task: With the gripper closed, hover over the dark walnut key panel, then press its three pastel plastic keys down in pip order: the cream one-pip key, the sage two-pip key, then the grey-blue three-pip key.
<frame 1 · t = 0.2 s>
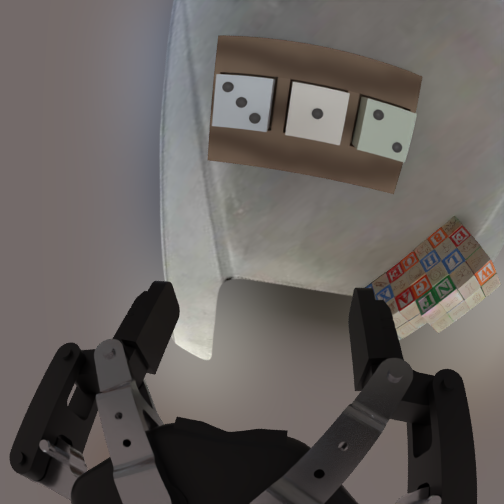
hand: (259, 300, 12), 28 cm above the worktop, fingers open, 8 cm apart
key panel: (313, 108, 31), on the worktop
key 2: (384, 128, 27), point 4 cm above the worktop, slide at 0.0 cm
key 1: (316, 112, 28), point 4 cm above the worktop, slide at 0.0 cm
stack of blocks: (414, 265, 42), on the worktop
key 3: (243, 101, 28), point 4 cm above the worktop, slide at 0.0 cm
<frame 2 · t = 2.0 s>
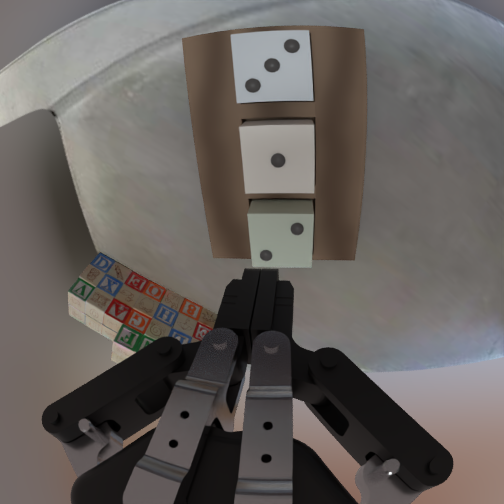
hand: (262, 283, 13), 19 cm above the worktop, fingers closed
key panel: (281, 144, 27), on the worktop
key 2: (282, 234, 28), point 4 cm above the worktop, slide at 0.0 cm
key 1: (279, 155, 24), point 4 cm above the worktop, slide at 0.0 cm
stack of blocks: (154, 294, 43), on the worktop
key 3: (273, 66, 19), point 4 cm above the worktop, slide at 0.0 cm
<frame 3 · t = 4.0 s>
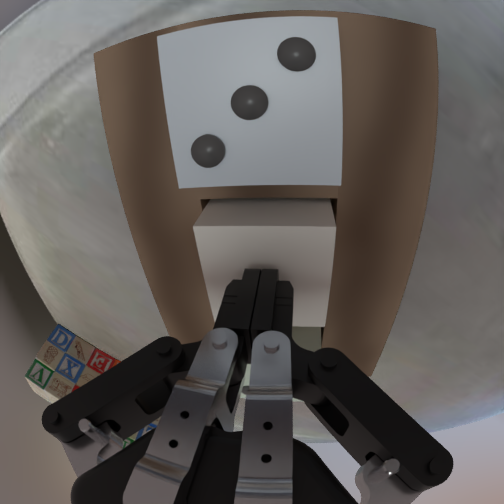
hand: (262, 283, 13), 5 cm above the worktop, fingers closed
key panel: (274, 227, 18), on the worktop
key 2: (272, 362, 18), point 4 cm above the worktop, slide at 0.0 cm
key 1: (269, 263, 15), point 4 cm above the worktop, slide at 0.6 cm, touching gripper
stack of blocks: (124, 370, 33), on the worktop
key 3: (256, 99, 10), point 4 cm above the worktop, slide at 0.0 cm
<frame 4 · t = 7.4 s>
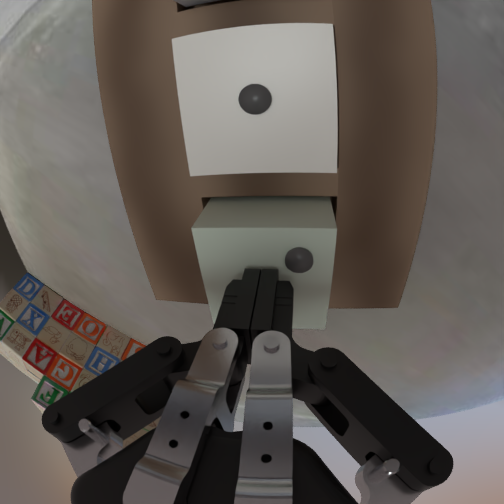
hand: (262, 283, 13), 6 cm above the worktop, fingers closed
key panel: (267, 93, 13), on the worktop
key 2: (269, 265, 14), point 4 cm above the worktop, slide at 0.2 cm, touching gripper
key 1: (260, 96, 11), point 3 cm above the worktop, slide at 1.2 cm
stack of blocks: (96, 329, 29), on the worktop
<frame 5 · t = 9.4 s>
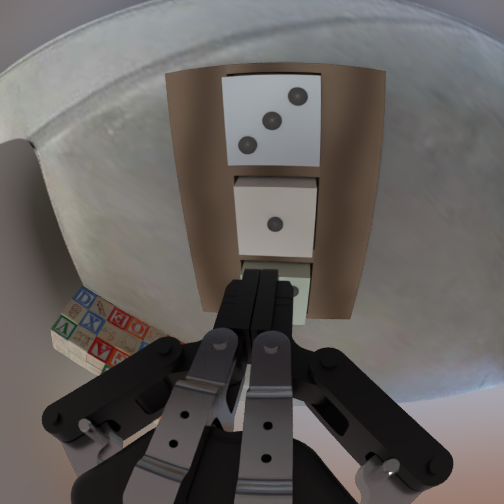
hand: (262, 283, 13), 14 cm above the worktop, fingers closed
key panel: (278, 199, 26), on the worktop
key 2: (276, 291, 27), point 3 cm above the worktop, slide at 1.0 cm
key 1: (276, 214, 23), point 3 cm above the worktop, slide at 1.2 cm
stack of blocks: (137, 328, 41), on the worktop
key 3: (273, 117, 18), point 4 cm above the worktop, slide at 0.0 cm
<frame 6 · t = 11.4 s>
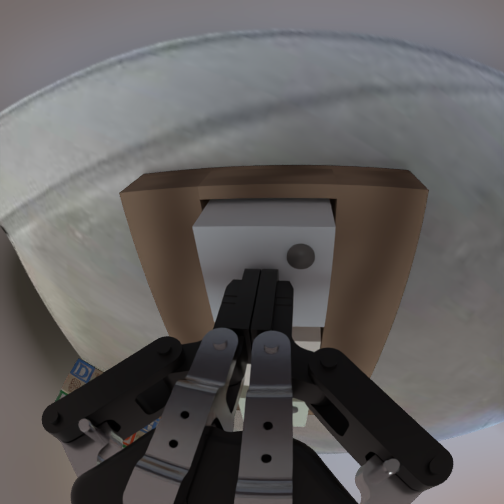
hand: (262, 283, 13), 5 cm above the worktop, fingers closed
key panel: (277, 317, 22), on the worktop
key 2: (275, 400, 24), point 3 cm above the worktop, slide at 1.0 cm
key 1: (274, 349, 19), point 3 cm above the worktop, slide at 1.2 cm
stack of blocks: (138, 395, 38), on the worktop
key 3: (268, 263, 15), point 4 cm above the worktop, slide at 0.6 cm, touching gripper
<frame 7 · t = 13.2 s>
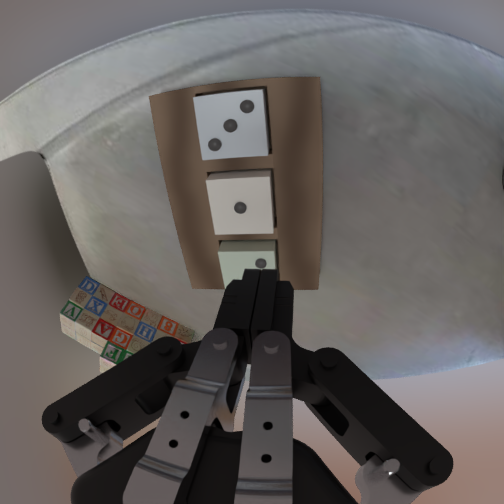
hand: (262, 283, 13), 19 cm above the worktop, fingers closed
key panel: (246, 189, 31), on the worktop
key 2: (250, 265, 33), point 3 cm above the worktop, slide at 1.0 cm
key 1: (242, 200, 29), point 3 cm above the worktop, slide at 1.2 cm
stack of blocks: (136, 312, 47), on the worktop
key 3: (233, 122, 24), point 3 cm above the worktop, slide at 1.2 cm
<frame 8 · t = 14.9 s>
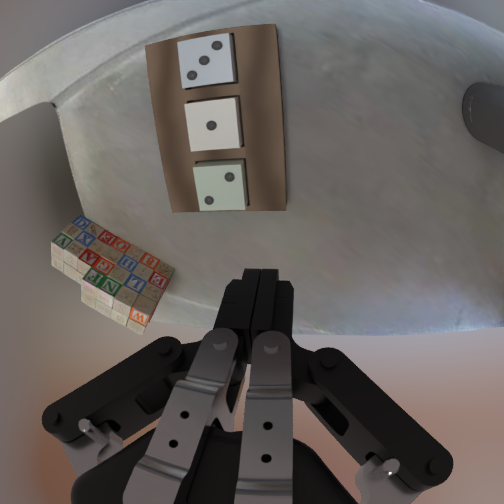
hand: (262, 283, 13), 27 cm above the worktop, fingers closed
key panel: (221, 119, 34), on the worktop
key 2: (222, 184, 36), point 3 cm above the worktop, slide at 1.0 cm
key 1: (215, 123, 32), point 3 cm above the worktop, slide at 1.2 cm
stack of blocks: (122, 251, 50), on the worktop
key 3: (208, 61, 27), point 3 cm above the worktop, slide at 1.2 cm
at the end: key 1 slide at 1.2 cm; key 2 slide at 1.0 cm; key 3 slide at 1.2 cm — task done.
